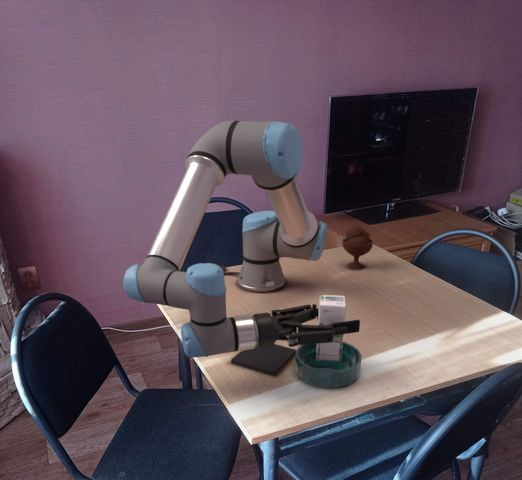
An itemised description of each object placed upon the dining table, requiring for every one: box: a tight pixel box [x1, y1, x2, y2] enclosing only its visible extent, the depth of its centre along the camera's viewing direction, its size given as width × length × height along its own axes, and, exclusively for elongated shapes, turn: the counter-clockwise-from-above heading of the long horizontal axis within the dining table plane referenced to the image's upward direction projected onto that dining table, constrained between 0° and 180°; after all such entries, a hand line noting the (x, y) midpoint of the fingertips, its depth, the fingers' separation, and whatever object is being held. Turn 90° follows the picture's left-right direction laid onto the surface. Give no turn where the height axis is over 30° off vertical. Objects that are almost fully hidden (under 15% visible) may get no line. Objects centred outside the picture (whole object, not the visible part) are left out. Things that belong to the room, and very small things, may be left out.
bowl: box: [294, 341, 362, 388], centre depth 119 cm, size 15×15×4 cm
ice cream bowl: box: [341, 224, 374, 270], centre depth 177 cm, size 11×11×15 cm
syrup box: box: [316, 294, 347, 362], centre depth 114 cm, size 6×6×14 cm
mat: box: [230, 343, 297, 377], centre depth 125 cm, size 12×12×1 cm
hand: (350, 318), depth 115 cm, fingers closed on syrup box, 7 cm apart
